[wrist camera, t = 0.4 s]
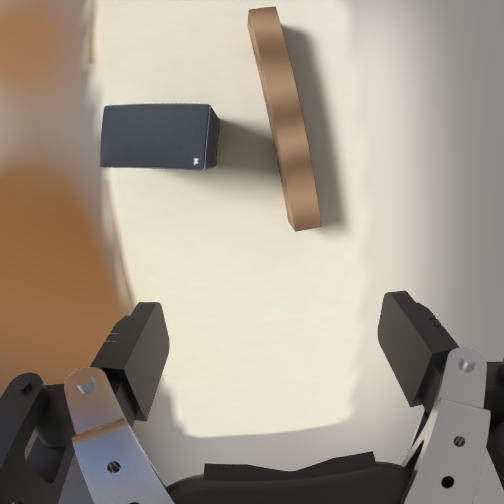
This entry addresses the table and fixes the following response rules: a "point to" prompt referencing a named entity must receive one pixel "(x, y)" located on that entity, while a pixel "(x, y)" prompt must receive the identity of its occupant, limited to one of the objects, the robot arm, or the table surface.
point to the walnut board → (285, 118)
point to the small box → (159, 136)
